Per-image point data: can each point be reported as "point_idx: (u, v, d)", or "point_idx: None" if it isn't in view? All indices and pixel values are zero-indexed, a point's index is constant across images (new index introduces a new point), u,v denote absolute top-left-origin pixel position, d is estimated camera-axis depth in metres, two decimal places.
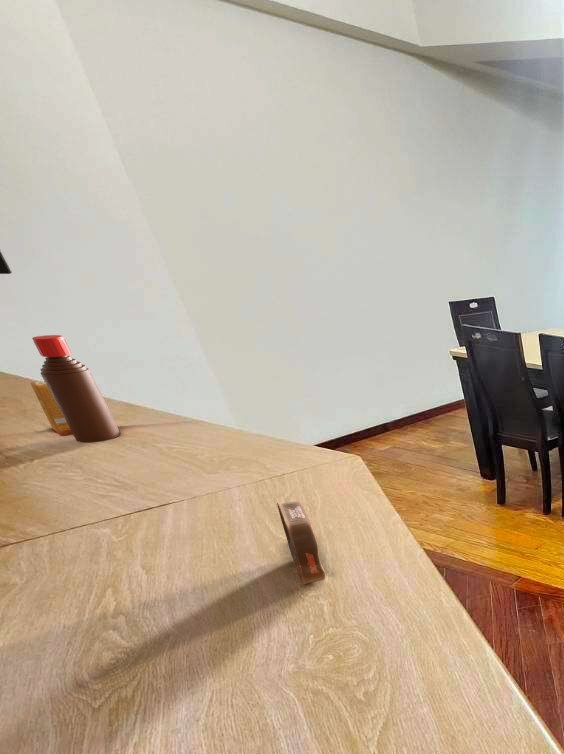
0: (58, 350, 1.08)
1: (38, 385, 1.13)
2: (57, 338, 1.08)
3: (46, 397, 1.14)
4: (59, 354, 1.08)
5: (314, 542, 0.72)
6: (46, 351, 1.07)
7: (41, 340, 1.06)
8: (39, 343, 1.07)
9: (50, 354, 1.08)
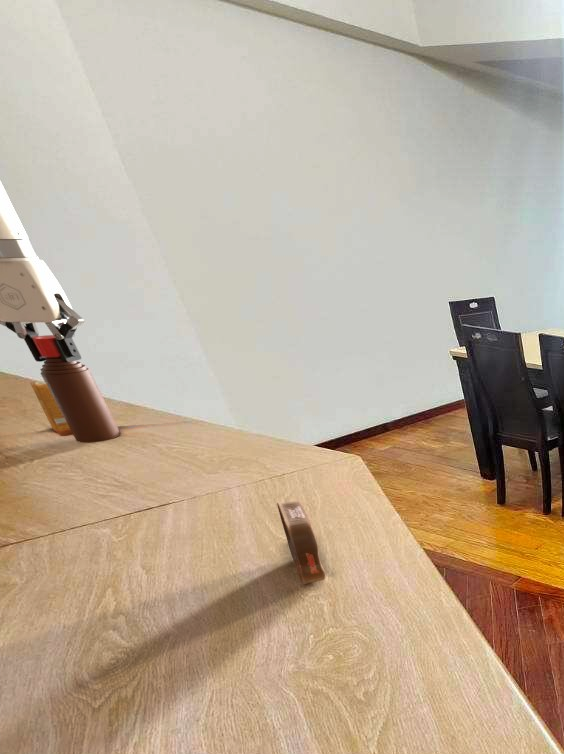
0: None
1: (38, 385, 1.13)
2: None
3: (46, 397, 1.14)
4: (59, 354, 1.08)
5: (314, 542, 0.72)
6: (46, 351, 1.07)
7: (41, 340, 1.06)
8: (39, 343, 1.07)
9: (50, 354, 1.08)
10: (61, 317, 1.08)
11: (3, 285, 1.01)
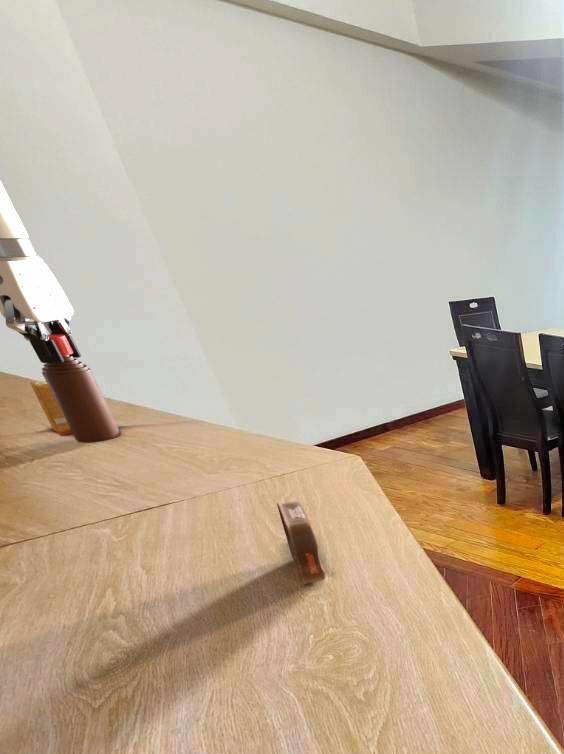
0: None
1: (38, 385, 1.13)
2: None
3: (46, 397, 1.14)
4: None
5: (314, 542, 0.72)
6: (69, 348, 1.10)
7: (64, 337, 1.09)
8: (64, 341, 1.09)
9: (71, 351, 1.10)
10: None
11: (40, 283, 1.04)
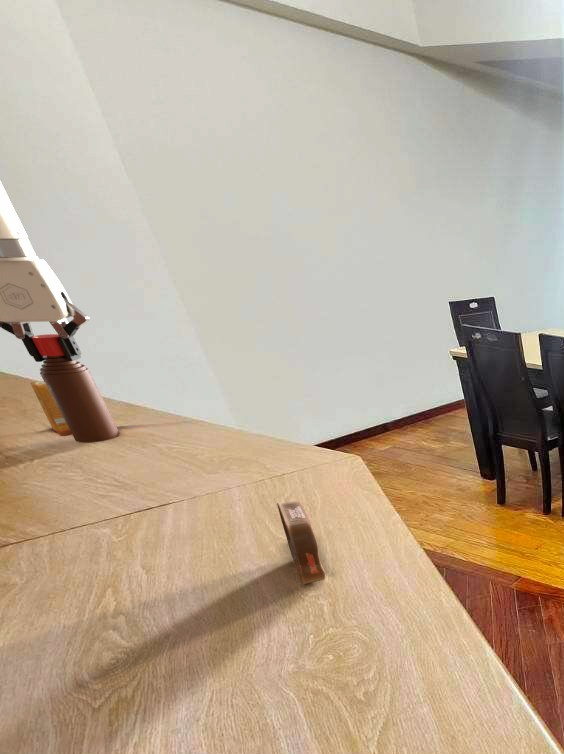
0: None
1: (38, 385, 1.13)
2: None
3: (46, 397, 1.14)
4: None
5: (314, 542, 0.72)
6: None
7: None
8: None
9: None
10: None
11: (8, 285, 1.01)
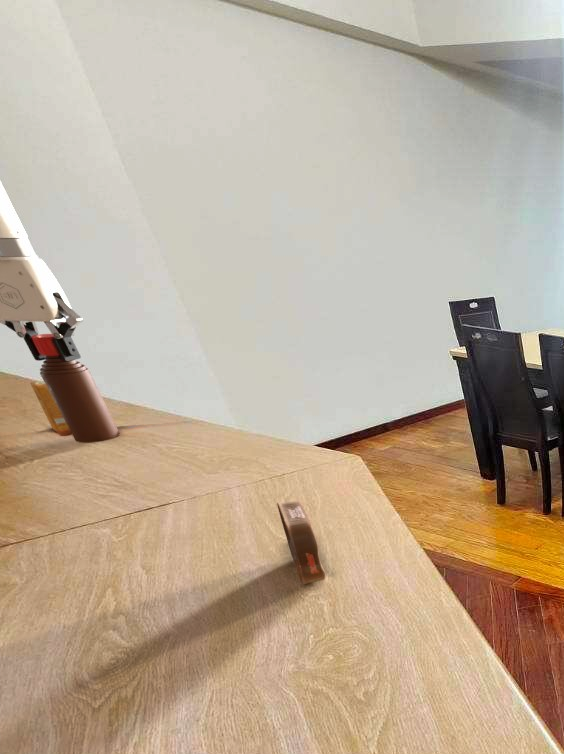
0: None
1: (38, 385, 1.13)
2: None
3: (46, 397, 1.14)
4: None
5: (314, 542, 0.72)
6: None
7: None
8: None
9: None
10: (60, 316, 1.07)
11: (2, 284, 1.01)
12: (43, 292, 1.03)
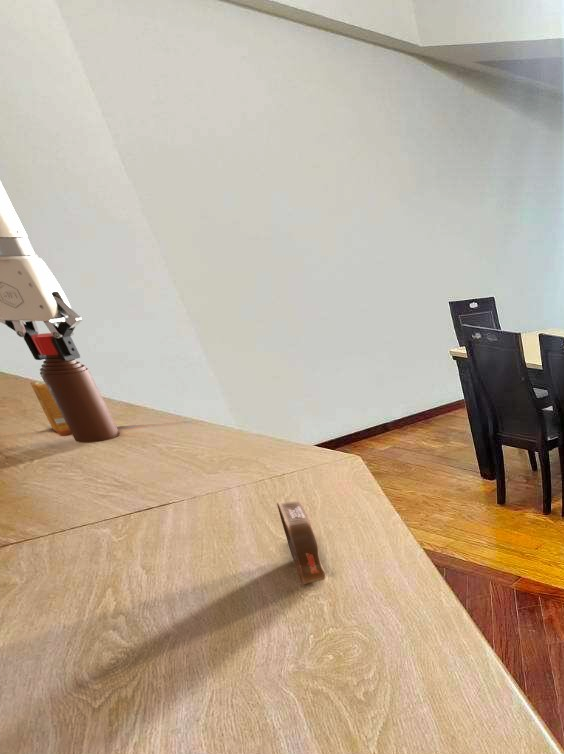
0: (41, 349, 1.07)
1: (38, 385, 1.13)
2: (39, 337, 1.06)
3: (46, 397, 1.14)
4: (41, 352, 1.07)
5: (314, 542, 0.72)
6: None
7: (31, 337, 1.07)
8: None
9: (38, 351, 1.08)
10: (60, 316, 1.07)
11: (1, 283, 1.01)
12: (42, 291, 1.03)
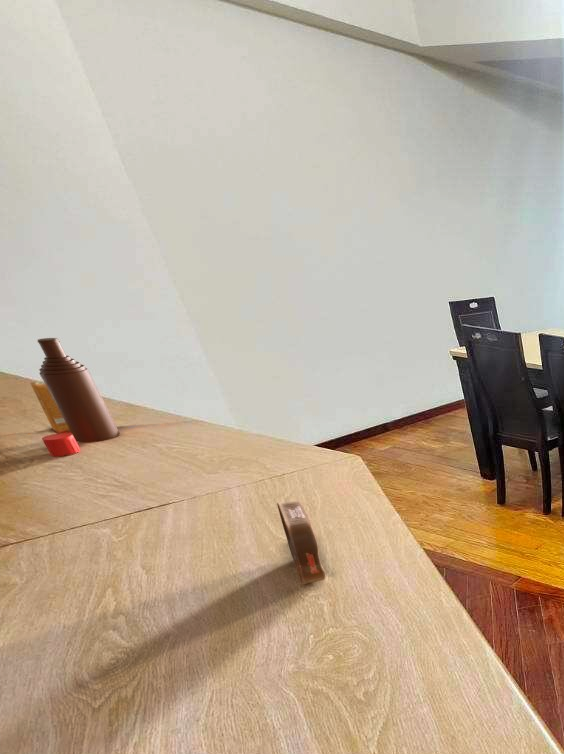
0: None
1: (38, 385, 1.13)
2: None
3: (46, 397, 1.14)
4: None
5: (314, 542, 0.72)
6: (78, 445, 1.10)
7: None
8: (73, 439, 1.09)
9: (79, 448, 1.11)
10: None
11: None
12: None
